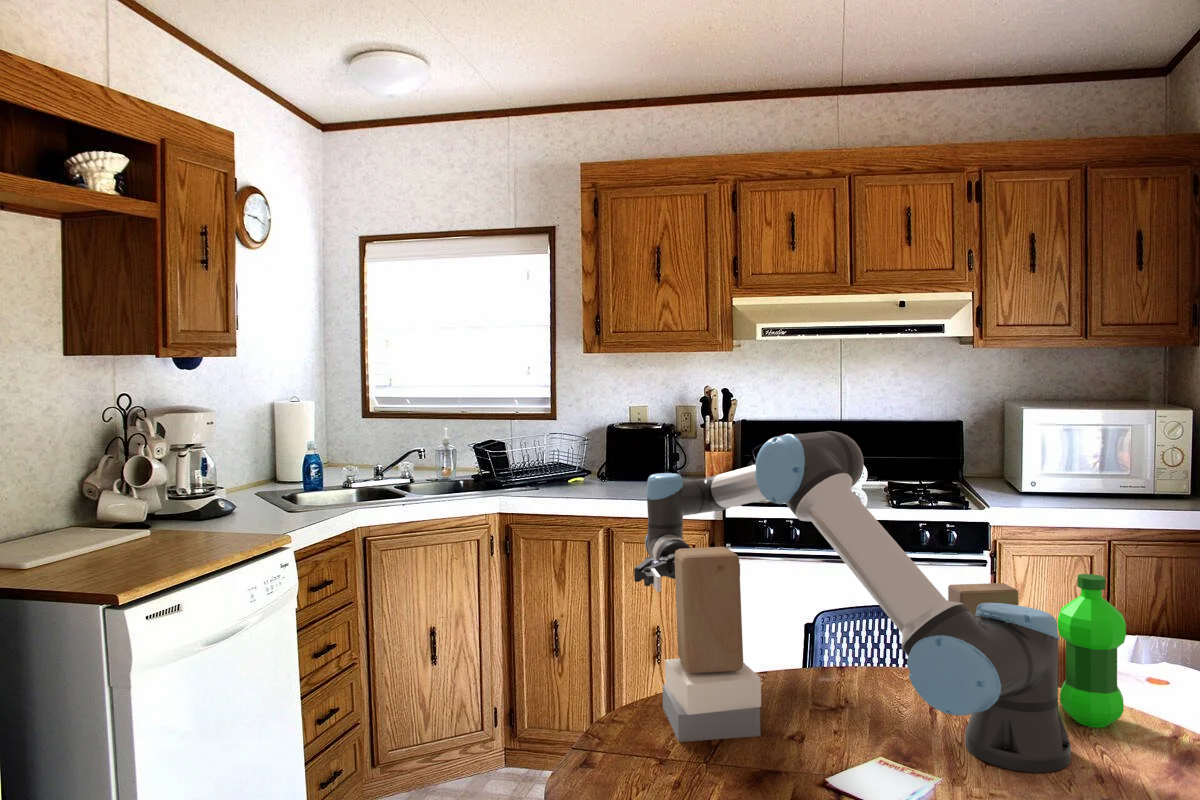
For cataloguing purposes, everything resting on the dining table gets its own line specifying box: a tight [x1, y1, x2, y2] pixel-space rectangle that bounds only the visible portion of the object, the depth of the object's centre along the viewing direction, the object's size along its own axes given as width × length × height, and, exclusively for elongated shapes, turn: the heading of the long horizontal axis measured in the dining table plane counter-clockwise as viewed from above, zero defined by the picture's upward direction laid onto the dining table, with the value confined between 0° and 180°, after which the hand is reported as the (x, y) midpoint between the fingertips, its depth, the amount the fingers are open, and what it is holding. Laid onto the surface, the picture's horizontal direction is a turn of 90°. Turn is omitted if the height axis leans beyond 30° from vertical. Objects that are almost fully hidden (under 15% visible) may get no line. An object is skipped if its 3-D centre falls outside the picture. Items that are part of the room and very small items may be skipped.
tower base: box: [662, 683, 761, 743], centre depth 152 cm, size 14×14×5 cm
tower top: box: [664, 657, 762, 715], centre depth 151 cm, size 13×13×5 cm
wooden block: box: [674, 546, 744, 673], centre depth 152 cm, size 10×10×20 cm
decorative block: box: [947, 582, 1019, 618], centre depth 162 cm, size 11×6×20 cm, turn 91°
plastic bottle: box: [1057, 573, 1127, 729], centre depth 148 cm, size 10×10×25 cm
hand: (696, 582), depth 155 cm, fingers open, 13 cm apart
